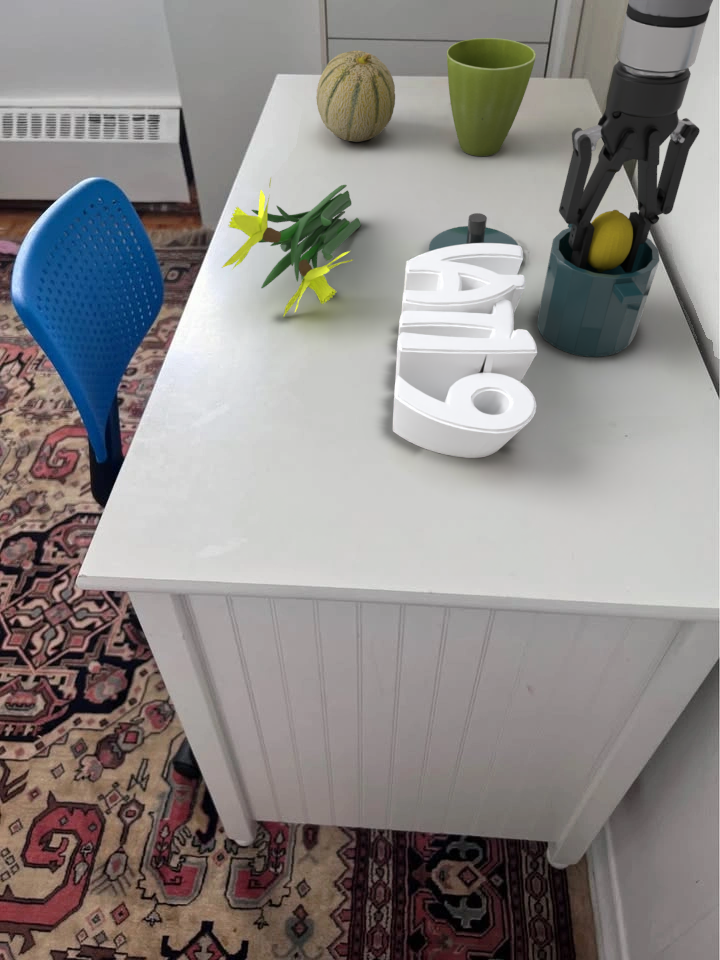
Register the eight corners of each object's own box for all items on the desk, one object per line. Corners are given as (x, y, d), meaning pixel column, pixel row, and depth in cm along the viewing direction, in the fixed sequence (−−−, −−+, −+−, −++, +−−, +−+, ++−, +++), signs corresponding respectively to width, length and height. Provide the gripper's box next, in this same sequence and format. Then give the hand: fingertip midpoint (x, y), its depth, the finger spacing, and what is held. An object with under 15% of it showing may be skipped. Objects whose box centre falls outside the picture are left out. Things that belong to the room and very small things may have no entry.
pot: (604, 285, 102) (625, 208, 94) (658, 364, 90) (688, 284, 82) (519, 294, 101) (532, 218, 93) (562, 375, 89) (582, 296, 81)
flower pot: (534, 141, 135) (549, 46, 123) (502, 173, 126) (515, 74, 114) (461, 125, 140) (469, 32, 128) (426, 155, 132) (431, 58, 120)
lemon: (627, 283, 88) (645, 222, 82) (582, 283, 88) (596, 222, 82) (617, 259, 91) (634, 198, 85) (573, 259, 91) (587, 199, 85)
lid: (504, 229, 113) (509, 191, 109) (531, 276, 104) (538, 236, 100) (419, 237, 112) (421, 199, 108) (439, 285, 103) (442, 246, 99)
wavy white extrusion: (407, 292, 102) (409, 223, 94) (525, 300, 100) (537, 230, 92) (373, 472, 79) (373, 400, 71) (525, 487, 77) (541, 415, 69)
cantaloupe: (334, 118, 143) (330, 33, 132) (404, 127, 140) (407, 40, 129) (306, 149, 134) (299, 60, 123) (380, 159, 131) (380, 69, 120)
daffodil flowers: (407, 237, 114) (346, 308, 85) (331, 276, 120) (251, 354, 92) (357, 133, 108) (274, 172, 79) (280, 180, 114) (177, 231, 86)
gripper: (722, 45, 75) (658, 246, 93) (551, 58, 74) (519, 260, 91) (759, 70, 70) (684, 277, 88) (577, 85, 69) (537, 293, 86)
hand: (600, 268), depth 89 cm, fingers closed on lemon, 5 cm apart
